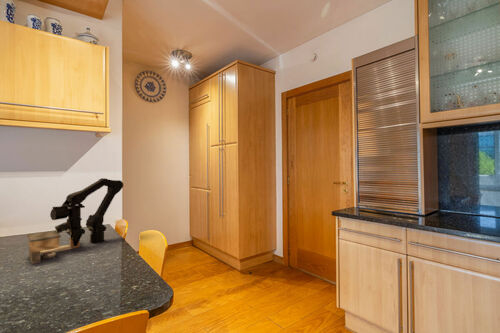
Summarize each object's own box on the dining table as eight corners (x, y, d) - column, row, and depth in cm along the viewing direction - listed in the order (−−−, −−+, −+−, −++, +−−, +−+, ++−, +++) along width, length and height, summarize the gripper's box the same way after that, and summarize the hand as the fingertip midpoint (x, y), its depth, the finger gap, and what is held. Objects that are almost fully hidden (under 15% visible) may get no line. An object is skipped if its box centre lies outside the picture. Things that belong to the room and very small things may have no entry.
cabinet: (55, 251, 131) (55, 230, 131) (60, 258, 121) (60, 235, 121) (27, 256, 123) (27, 234, 123) (30, 264, 113) (30, 240, 113)
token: (54, 254, 127) (54, 249, 127) (56, 256, 123) (56, 251, 123) (42, 256, 123) (42, 251, 123) (43, 259, 119) (43, 254, 120)
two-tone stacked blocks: (77, 245, 141) (77, 236, 141) (79, 247, 138) (79, 238, 138) (39, 252, 129) (39, 242, 129) (41, 254, 126) (41, 244, 126)
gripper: (53, 216, 139) (53, 244, 139) (59, 221, 126) (59, 252, 126) (77, 214, 147) (77, 240, 147) (85, 218, 134) (85, 247, 134)
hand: (74, 245), depth 138 cm, fingers closed on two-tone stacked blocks, 4 cm apart
